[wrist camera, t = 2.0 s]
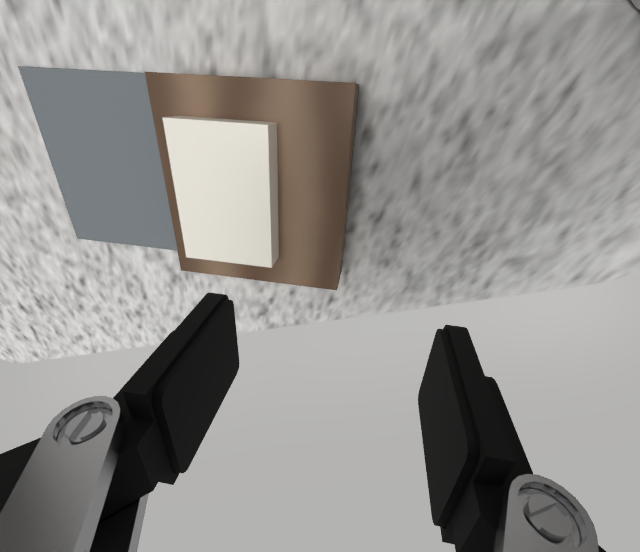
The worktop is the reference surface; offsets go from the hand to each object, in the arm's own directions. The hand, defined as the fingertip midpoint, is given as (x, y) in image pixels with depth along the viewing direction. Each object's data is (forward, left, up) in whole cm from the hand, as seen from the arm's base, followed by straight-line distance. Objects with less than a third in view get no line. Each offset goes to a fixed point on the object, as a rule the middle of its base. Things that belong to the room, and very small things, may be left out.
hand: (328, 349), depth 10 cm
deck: (+8, 0, -20) cm, 21 cm away
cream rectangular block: (+10, 0, -16) cm, 18 cm away
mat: (+22, 0, -20) cm, 29 cm away
